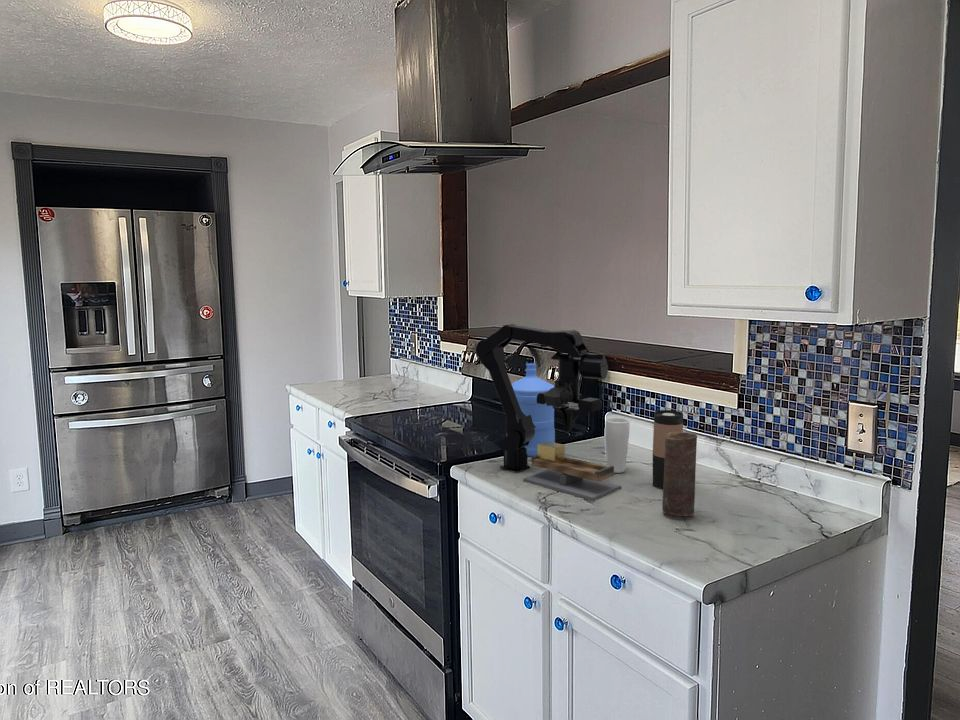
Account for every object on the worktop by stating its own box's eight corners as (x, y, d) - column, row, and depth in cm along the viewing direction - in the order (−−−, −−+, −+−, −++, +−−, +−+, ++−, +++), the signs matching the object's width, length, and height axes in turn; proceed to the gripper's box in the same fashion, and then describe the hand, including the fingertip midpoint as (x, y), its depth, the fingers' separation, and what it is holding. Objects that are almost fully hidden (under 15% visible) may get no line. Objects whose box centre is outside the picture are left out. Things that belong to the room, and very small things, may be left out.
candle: (688, 523, 161) (692, 438, 158) (657, 517, 165) (660, 434, 162) (697, 513, 167) (701, 431, 164) (667, 507, 171) (670, 428, 168)
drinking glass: (628, 475, 197) (629, 423, 195) (604, 473, 198) (605, 422, 196) (628, 468, 203) (629, 417, 201) (604, 466, 205) (605, 417, 202)
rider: (537, 461, 193) (537, 444, 192) (547, 458, 196) (547, 441, 195) (554, 465, 189) (554, 447, 188) (564, 462, 192) (564, 444, 191)
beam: (531, 465, 193) (531, 456, 192) (547, 460, 198) (547, 451, 198) (598, 482, 178) (598, 472, 177) (613, 475, 183) (613, 466, 183)
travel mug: (683, 483, 189) (685, 411, 187) (678, 491, 183) (681, 417, 180) (654, 479, 193) (656, 408, 190) (648, 487, 186) (651, 414, 183)
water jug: (537, 460, 212) (537, 369, 208) (496, 451, 221) (496, 364, 217) (564, 449, 224) (565, 363, 220) (524, 441, 233) (524, 359, 229)
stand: (523, 481, 192) (523, 468, 191) (552, 470, 201) (552, 458, 200) (592, 500, 176) (593, 487, 175) (620, 488, 185) (621, 475, 185)
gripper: (524, 376, 192) (523, 431, 194) (579, 384, 179) (578, 443, 181) (549, 371, 200) (548, 424, 202) (603, 378, 187) (602, 435, 189)
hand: (568, 431), depth 194 cm, fingers closed
